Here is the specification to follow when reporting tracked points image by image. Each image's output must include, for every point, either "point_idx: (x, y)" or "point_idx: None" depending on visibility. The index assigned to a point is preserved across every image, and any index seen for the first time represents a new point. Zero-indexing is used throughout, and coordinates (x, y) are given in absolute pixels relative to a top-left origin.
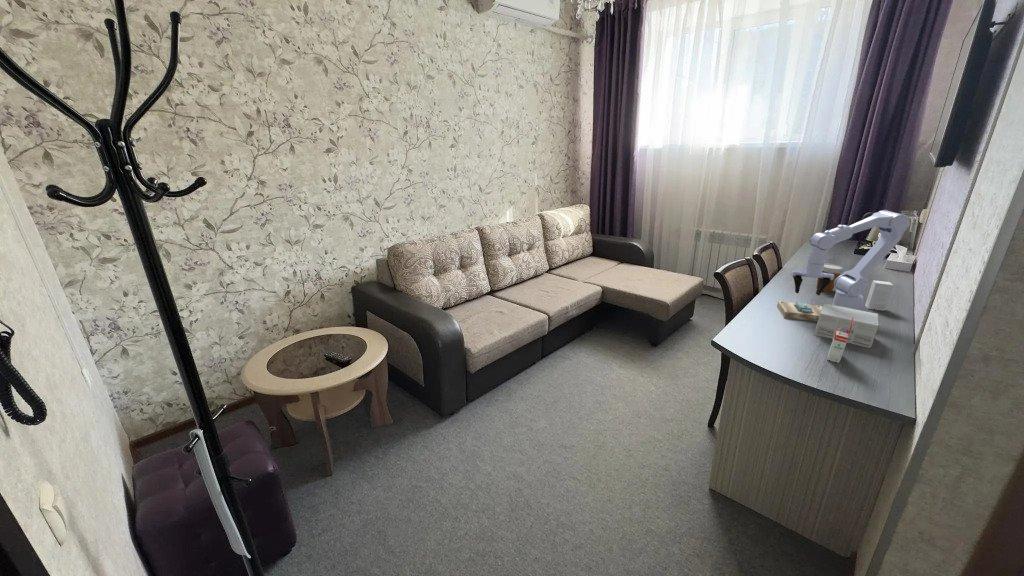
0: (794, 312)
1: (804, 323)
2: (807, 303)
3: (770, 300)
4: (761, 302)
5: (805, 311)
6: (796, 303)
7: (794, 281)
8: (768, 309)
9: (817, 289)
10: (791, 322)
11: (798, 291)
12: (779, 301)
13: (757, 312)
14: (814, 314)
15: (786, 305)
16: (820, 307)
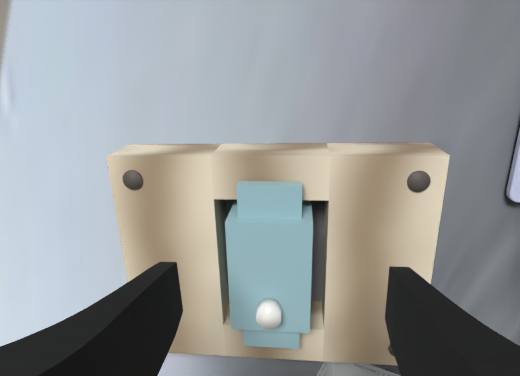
0: (194, 348)
1: (253, 369)
2: (310, 231)
3: (89, 6)
4: (26, 91)
5: (262, 341)
6: (227, 221)
7: (48, 333)
8: (75, 220)
9: (408, 306)
10: (187, 372)
11: (170, 335)
12: (115, 163)
13: (18, 288)
14: (317, 350)
15: (159, 238)
16: (425, 200)
